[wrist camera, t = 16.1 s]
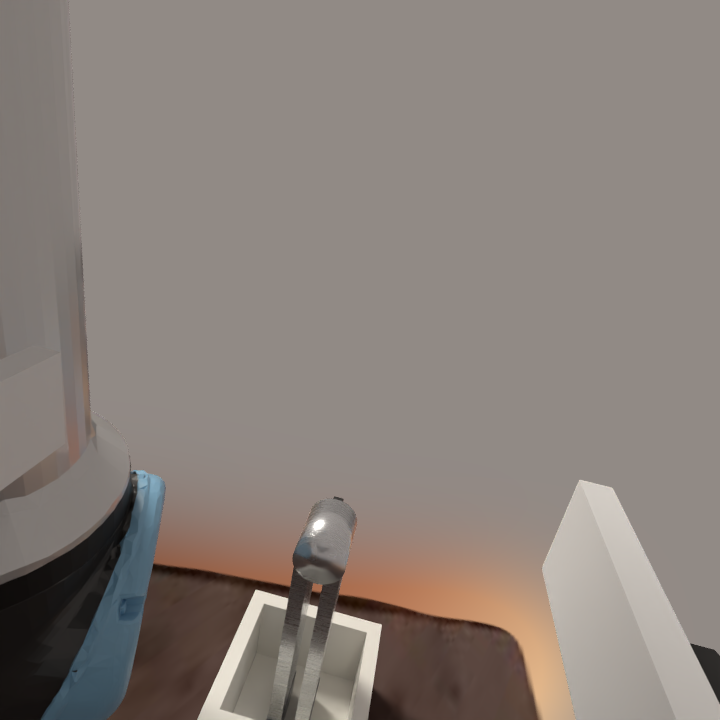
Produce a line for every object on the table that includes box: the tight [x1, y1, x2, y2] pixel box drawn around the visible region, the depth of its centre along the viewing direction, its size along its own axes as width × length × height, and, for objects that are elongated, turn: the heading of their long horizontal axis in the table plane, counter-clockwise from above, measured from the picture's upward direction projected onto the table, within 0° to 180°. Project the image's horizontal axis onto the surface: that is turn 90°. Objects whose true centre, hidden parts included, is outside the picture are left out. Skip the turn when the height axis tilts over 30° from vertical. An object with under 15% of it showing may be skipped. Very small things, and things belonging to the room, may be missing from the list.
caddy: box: [197, 590, 382, 720], centre depth 36 cm, size 10×10×6 cm
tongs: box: [266, 497, 357, 720], centre depth 33 cm, size 3×5×18 cm, turn 171°
